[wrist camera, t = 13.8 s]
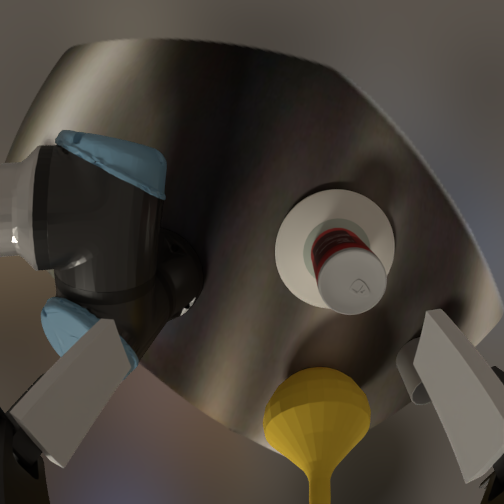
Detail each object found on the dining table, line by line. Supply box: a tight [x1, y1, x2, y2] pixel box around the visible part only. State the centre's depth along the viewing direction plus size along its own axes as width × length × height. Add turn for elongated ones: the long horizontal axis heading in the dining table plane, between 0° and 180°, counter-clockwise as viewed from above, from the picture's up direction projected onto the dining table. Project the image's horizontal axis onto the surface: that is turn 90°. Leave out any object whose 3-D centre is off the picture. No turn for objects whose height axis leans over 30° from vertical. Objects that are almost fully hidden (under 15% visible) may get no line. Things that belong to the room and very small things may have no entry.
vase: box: [263, 367, 371, 504], centre depth 33 cm, size 18×18×30 cm
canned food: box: [311, 228, 387, 315], centre depth 33 cm, size 8×8×11 cm
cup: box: [396, 337, 432, 405], centre depth 38 cm, size 8×8×10 cm
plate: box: [275, 189, 395, 308], centre depth 39 cm, size 18×18×1 cm
